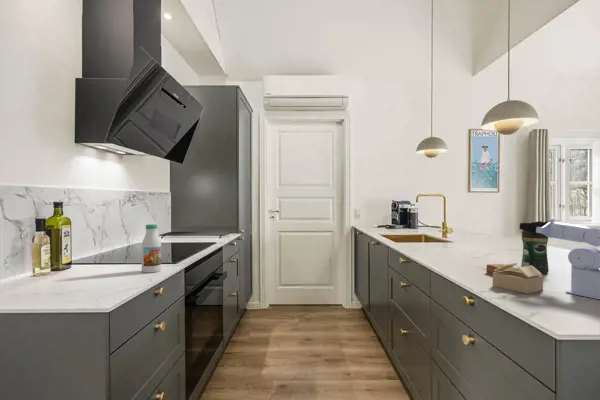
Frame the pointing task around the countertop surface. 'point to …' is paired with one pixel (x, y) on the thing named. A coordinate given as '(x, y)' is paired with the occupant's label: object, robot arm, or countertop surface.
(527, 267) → the flap
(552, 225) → the robot arm
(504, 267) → the far flap
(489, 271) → the carton
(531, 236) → the coffee jar
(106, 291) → the countertop surface
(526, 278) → the brown carton
